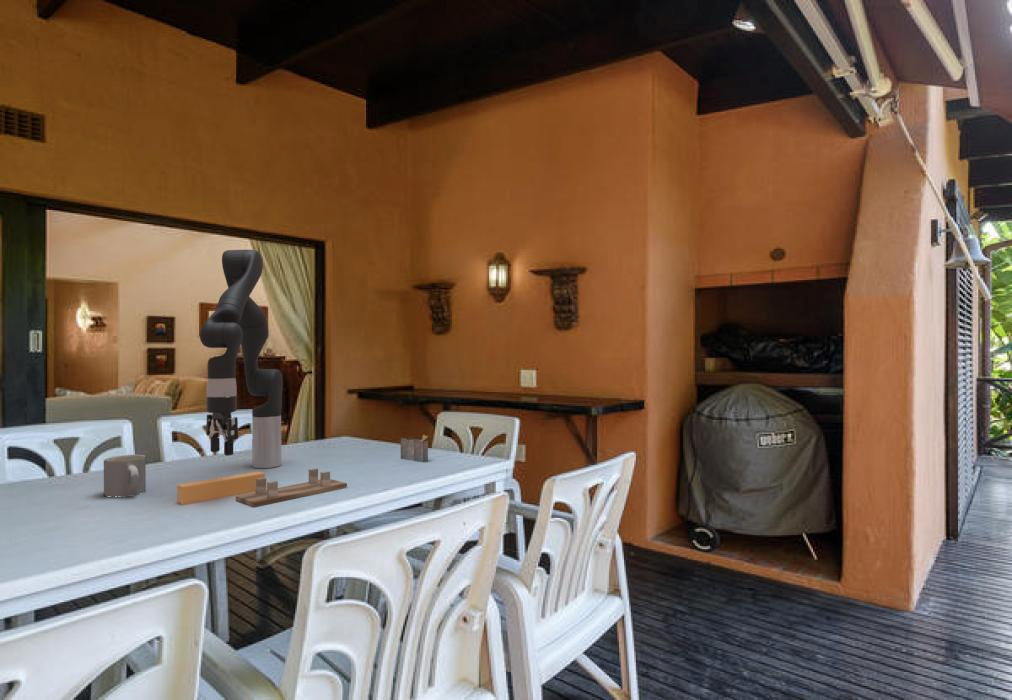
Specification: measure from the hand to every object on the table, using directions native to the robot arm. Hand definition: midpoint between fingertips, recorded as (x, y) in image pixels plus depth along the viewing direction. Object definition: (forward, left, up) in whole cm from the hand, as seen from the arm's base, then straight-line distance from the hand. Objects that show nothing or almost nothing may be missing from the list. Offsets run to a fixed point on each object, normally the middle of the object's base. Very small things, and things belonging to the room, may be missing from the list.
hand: (221, 453), depth 167 cm
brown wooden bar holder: (+13, +14, -12) cm, 22 cm away
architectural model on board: (+1, +68, -12) cm, 69 cm away
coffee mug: (-22, -17, -12) cm, 30 cm away
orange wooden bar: (0, 0, -12) cm, 12 cm away
